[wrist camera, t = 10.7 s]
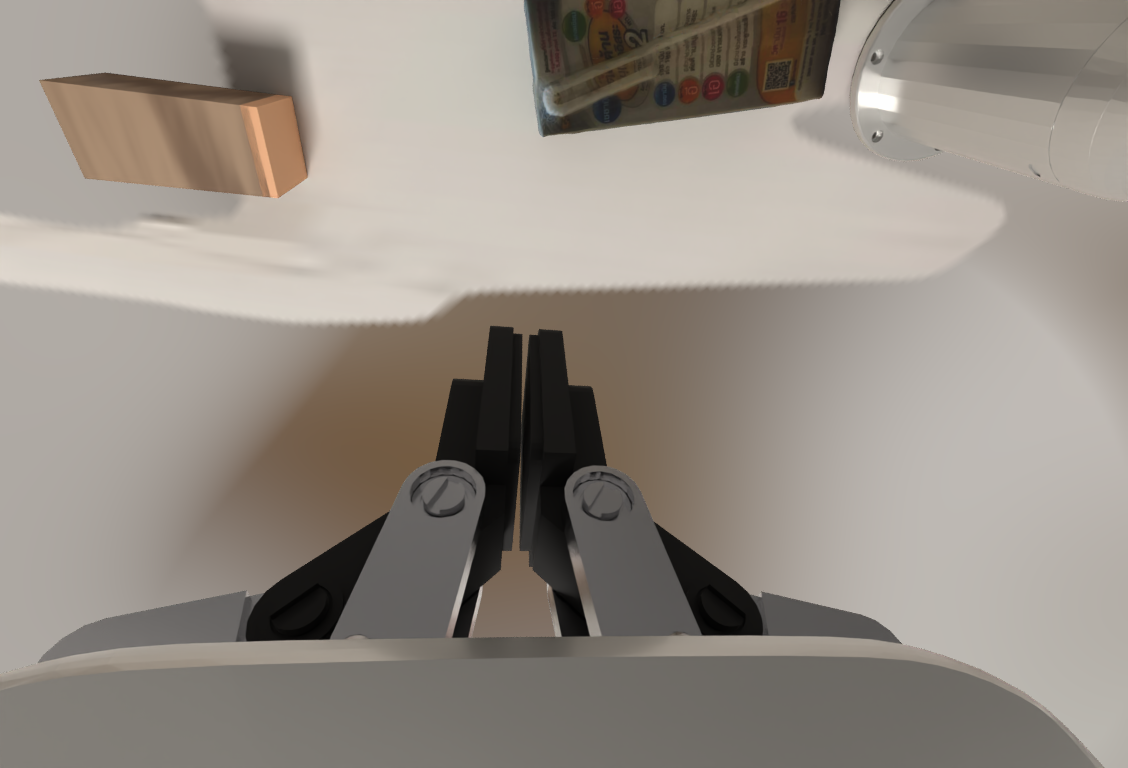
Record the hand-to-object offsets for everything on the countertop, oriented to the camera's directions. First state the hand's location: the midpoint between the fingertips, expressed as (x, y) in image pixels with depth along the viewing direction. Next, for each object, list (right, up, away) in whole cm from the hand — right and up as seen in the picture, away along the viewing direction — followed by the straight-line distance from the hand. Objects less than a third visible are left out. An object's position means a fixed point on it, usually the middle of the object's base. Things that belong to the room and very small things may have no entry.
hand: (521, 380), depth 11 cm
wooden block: (-19, +17, +22) cm, 33 cm away
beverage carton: (+8, +24, +22) cm, 34 cm away
